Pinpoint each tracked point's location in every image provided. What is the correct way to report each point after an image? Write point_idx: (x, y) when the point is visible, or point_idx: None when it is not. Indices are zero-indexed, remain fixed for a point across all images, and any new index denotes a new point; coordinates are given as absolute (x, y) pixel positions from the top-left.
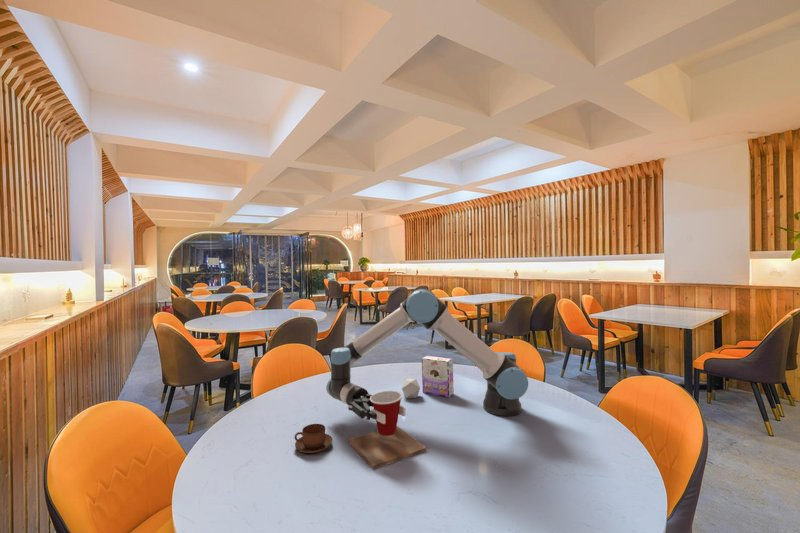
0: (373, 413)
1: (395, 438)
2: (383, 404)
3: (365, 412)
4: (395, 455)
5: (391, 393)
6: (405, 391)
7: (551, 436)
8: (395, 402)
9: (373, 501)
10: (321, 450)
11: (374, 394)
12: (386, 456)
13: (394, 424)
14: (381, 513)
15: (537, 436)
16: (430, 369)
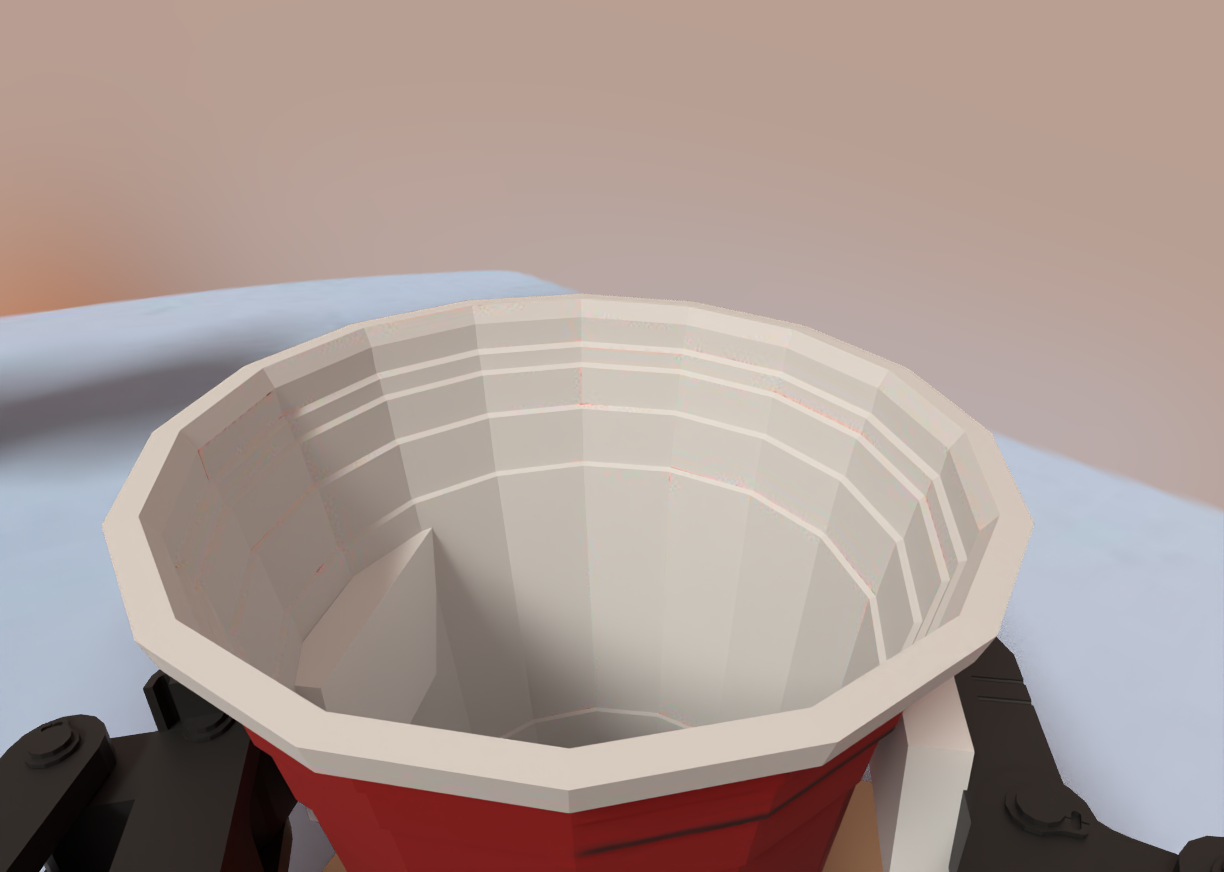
0: (977, 678)
1: None
2: (849, 387)
3: (1146, 853)
4: None
5: (181, 547)
6: None
7: (23, 406)
8: (642, 339)
9: (1220, 620)
10: None
11: (577, 752)
12: (856, 845)
13: (613, 704)
14: (1198, 551)
15: (30, 429)
16: None
